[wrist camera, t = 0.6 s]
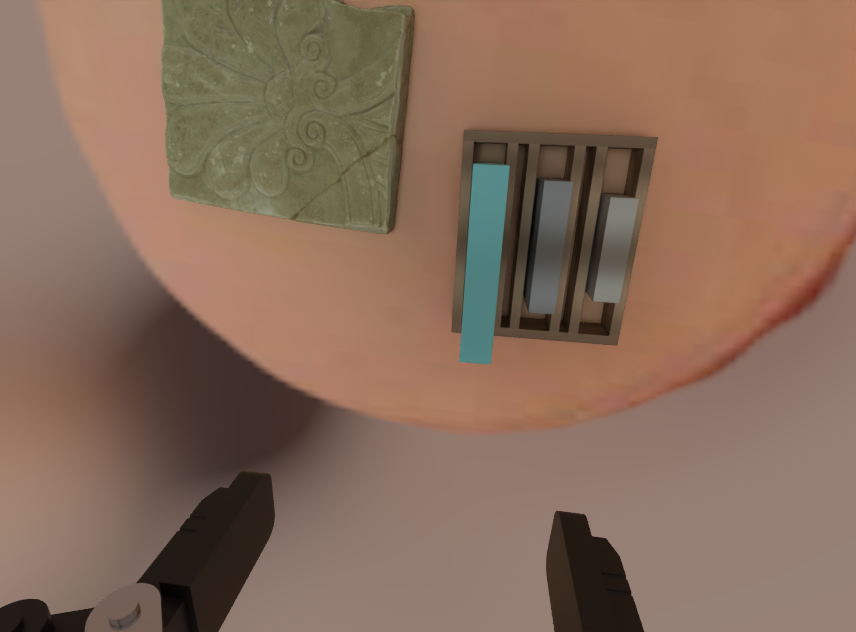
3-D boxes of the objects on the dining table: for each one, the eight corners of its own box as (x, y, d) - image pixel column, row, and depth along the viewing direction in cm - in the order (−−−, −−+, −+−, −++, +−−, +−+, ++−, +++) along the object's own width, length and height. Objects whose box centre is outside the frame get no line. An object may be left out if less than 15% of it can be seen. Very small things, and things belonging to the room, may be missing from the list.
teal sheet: (477, 162, 38) (472, 163, 25) (500, 163, 38) (509, 165, 25) (467, 298, 42) (459, 361, 29) (488, 299, 42) (490, 364, 29)
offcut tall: (535, 177, 38) (544, 180, 32) (560, 178, 38) (573, 181, 32) (522, 291, 41) (528, 312, 36) (544, 293, 41) (554, 314, 35)
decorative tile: (394, 232, 41) (386, 239, 38) (185, 195, 43) (160, 199, 39) (425, -7, 35) (419, -24, 32) (178, -43, 36) (147, -63, 33)
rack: (465, 132, 37) (464, 129, 35) (644, 138, 36) (657, 137, 33) (453, 320, 43) (451, 332, 40) (608, 332, 41) (617, 345, 39)
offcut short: (595, 192, 38) (610, 197, 33) (619, 193, 38) (639, 198, 33) (580, 284, 40) (593, 301, 36) (603, 286, 40) (619, 303, 36)
